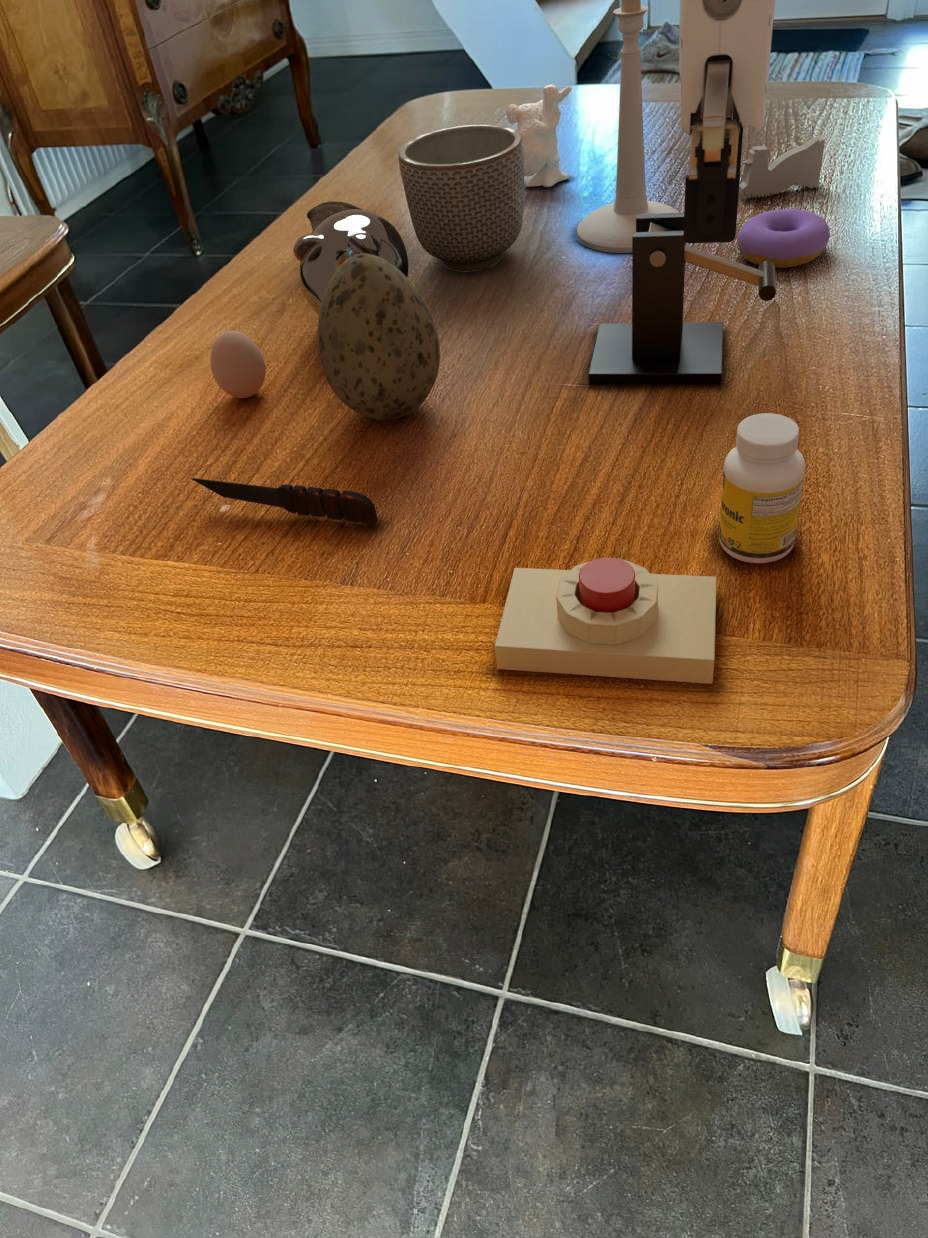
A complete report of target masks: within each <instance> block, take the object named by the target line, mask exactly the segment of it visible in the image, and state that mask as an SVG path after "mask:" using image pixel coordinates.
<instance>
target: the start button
mask: <svg viewBox="0 0 928 1238" xmlns="http://www.w3.org/2000/svg"><path fill="white" fill-rule="evenodd" d="M624 560H625V559H621V558H618V557H613V556H612V557H611V556H605V557H598V558H595V559H592V560H590V562H589V561H587V562H588V563H586V562H585V563H586V564H585V565H584V566H583V567H582V569H581V570H580V573H579V592H580V599H581V601H582V603H583V604H584V605H585V606H586V607H587V608H589V609H591V610H593V611H596V612H606V613H613V612H617V611H620V610H623V609H625V608H626V607H628V606H629V605H630V604H631V603H632V602H633V600H634V597H635V572H634V569H633V568H632V566H631V565H630V564H629V563H627V562H626V561H624Z"/></svg>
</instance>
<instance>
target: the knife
mask: <svg viewBox="0 0 928 1238" xmlns="http://www.w3.org/2000/svg"><path fill="white" fill-rule="evenodd" d="M190 479H191V480H192V481H194V482H196V483H197V484H199V485H201V486H203V487H205V488H206V489H208V490H210V492H214V493H215V494H217V495H219V496H220V497H221V498H225V499H231V500H235V501H236V500H237V501H242V502H248V503H253V504H259V505H265V506H270V507H275V508H276V507H277V508H282V509H284V510H285V511H286V512H288V513H290V514H294V515H295V514H297V515H299V516H307V517H308V516H311V517H315V518H316V517H317V518H325V517H326V518H328V519H331V520H337V521H342V520H345V521H346V522H351V523H352V522H353V523H362V524H365V525H366V526H368V527H369V528H371V529H373V528H374V527H375V526H376V524H377V522H378V521H379V518H378V515H377V510H376V506H375V504H374V502H373V501H372V499H370V498H369V497H368V496H366V495H364V494H363V493H360V492H357V491H352V490H342V492H341V491H340V490H339V489H335V488H325V489H324V488H321V487H316V486H315V487H314V486H308V487H306V486H305V485H298V484H297V485H296V484H295V485H294V486H293V484H287V483H286V484H280V486H278V487H273V486H265V485H255V484H248V483H238V482H231V481H223V480H222V481H221V480H212V479H205V478H204V479H203V478H196V477H195V478H194V477H193V478H190Z"/></svg>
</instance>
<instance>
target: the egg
mask: <svg viewBox="0 0 928 1238" xmlns="http://www.w3.org/2000/svg"><path fill="white" fill-rule="evenodd" d="M210 369H211V373H212V376H213V379H214V381H215V382H216V384H217V386H218V387H219V388H220V390H222V391H223V392H224V393H226V394H227V395H229V396H232V397H233V398H237V399H248V398H251V397H253V396H255V395H256V394H257V393H258V392H259V391H260V389H261V388H262V386H263V384H264V382H265V379H266V373H267V372H266V370H267V369H266V362H265V359H264V357H263V354H262V352H261V351H260V348H259V347H258V346H257V344H256V343H255V342H254V341H253V340H252V338H250V337H249V336H248V335H246V334H245V333H243V332H241V331H237V330H226V331H224V332H222V333H220V334H219V335H218V336H217V337H216V338H215V341H214V342H213V344H212V346H211V352H210Z"/></svg>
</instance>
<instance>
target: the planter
mask: <svg viewBox="0 0 928 1238" xmlns="http://www.w3.org/2000/svg"><path fill="white" fill-rule="evenodd" d="M398 167H399V173H400V176H401V181H402V186H403V190H404V196H405V199H406V204H407V208H408V212H409V216H410V219H411V223H412V227H413V230H414V232H415V236H416V238H417V240H418V242H419V245H421V247H422V249H423V250H425V251H426V252H427V254H429V255H430V256H431V257H433V258H435V259H437V260H439V261H441V263H442V264H443V265H444V267H446V268H447V269H449V270H451V271H454V272H455V271H456V272H461V273H462V272H463V273H465V272H466V273H467V272H468V273H469V272H478V271H482V270H485V269H488V268H492V267H493V266H495V265H496V264H498V263H499V262H500V261H501V260H502V258H503V256H504V253H505V252H506V251H507V250H509V249H510V248H511V247H512V246H513V245H514V243H515V242H516V241H517V239H518V238H519V235H520V234H521V231H522V226H523V220H524V210H525V206H524V205H525V176H524V145H523V140H522V136H521V134H520V133H519V132H518V131H517V129H515V128H513V127H510V126H506V125H501V124H495V123H471V124H460V125H454V126H453V125H452V126H447V127H443V128H439V129H434V130H432V131H428V132H425V133H423V134H420V135H418V136H415V137H414V138H412V139H410V140H408V141H406V142H405V143H404V144H403V145H402V146H401V147H400V149H399V151H398Z"/></svg>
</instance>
